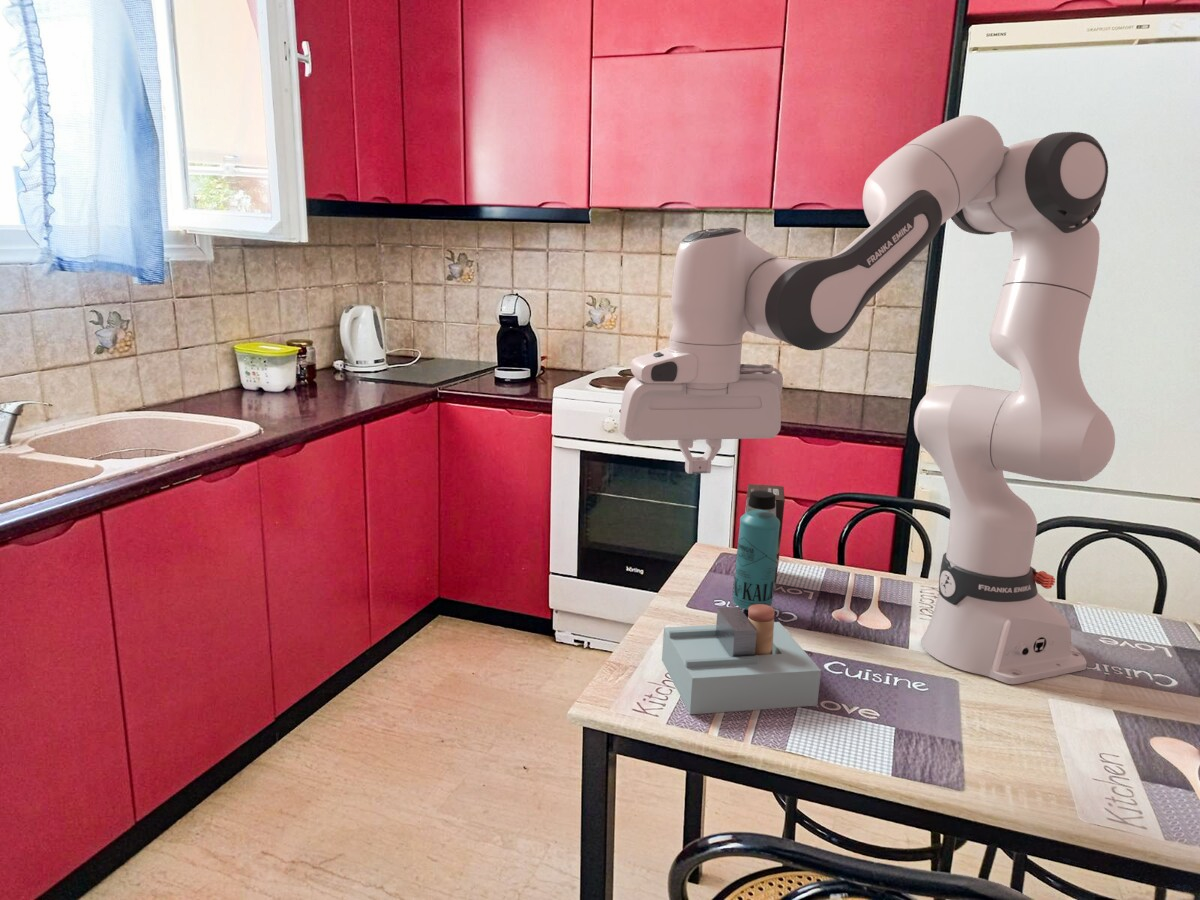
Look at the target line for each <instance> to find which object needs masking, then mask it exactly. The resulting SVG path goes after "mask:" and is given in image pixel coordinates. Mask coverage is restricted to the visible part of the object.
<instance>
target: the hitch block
mask: <svg viewBox="0 0 1200 900" xmlns="http://www.w3.org/2000/svg"><path fill="white" fill-rule="evenodd" d="M661 661H662V664H663V665H664V667H665V669H666V671H667V674H668V675H669V677H670V678H671V681H672V683H673V684H674V687H675V688H676V690H677V692H678V694H679V696H680V698H681V700H682V702H683V703H684V706H685V707H686V709H687V712H688V715H699V714H700V715H701V714H713V713H714V714H715V713H716V714H717V713H730V712H744V711H759V710H771V709H788V708H802V707H804V708H805V707H815V706H818V701H819V692H820V682H821V673H822V670H821V668H820V667H819V666H818V665H817V664H816V663H815V662H814V660H813V659H812V658H811V657H810V656H809V655H808V653H806V651H805V650H804V649H803V648H802V647H801V646H800V645H799V643H798V642H797V641H796V639H795V638H794V637H793V636H792V635H791V634H790V632H788V631H787V629H786V627H784V626H783V624H782V623H780V621H774V631H773V650H772V654H770V655H755V656H745V657H730V655H729V654H728V652H727V651H726V649H725V648H724V646H723V645H722V643H721V642H720V641H719V639H718V638H717V636H716V624H708V625H705V624H704V625H687V626H685V625H684V626H667V627H663V637H662V653H661Z"/></svg>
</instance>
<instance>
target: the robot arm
mask: <svg viewBox="0 0 1200 900" xmlns="http://www.w3.org/2000/svg"><path fill="white" fill-rule="evenodd" d="M1105 153H1106V152H1105V151H1104V149H1103V147H1102V145H1101V144H1100V142H1099V141H1098V140H1097V139H1096V138H1095V137H1094V136H1092V135H1090V134H1089V133H1085V132H1080V131H1062V132H1061V131H1060V132H1055V133H1050V134H1048V135H1046V136H1045V137H1040V138H1034V139H1030V140H1025V141H1021V142H1018V143H1014V144H1011V145H1009V146H1005V145H1004V141H1003V137H1002V135H1001V133H1000V132H999V130H998V129H997V128H996V127H995V126H994V124H993V123H992V122H990V121H989V120H988V119H985V118H983V117H981V116H977V115H971V114H970V115H961V116H956V117H954V118H952V119H949V120H947V121H945V122H943V123H941V124H938V125H937V126H935V127H932V128H931V129H929V130H927V131H925V132H924V133H922V134H920V135H918V136H916V138H914V139H912V140H911V141H909V142H908V143H906V144H904V146H902V147H900V148H899V149H898V150H896V151H895V152H894V153H892V154H891V155H889V156H888V157H887V158H886V159H885V160H883V161H882V162H881V163H880V164H879V165H878V166H877V167H876V168H875V169H874V170H873V172H872V173H870V175H869V176H868V177H867V178H866V179H865V183H864V186H863V191H862V206H863V211H864V215H865V217H866V219H867V222H868V223H869V225H870V226H869V227H867V228H866V229H865V230H864V231H863V232H862V233H861V234H860V235H859V236H857V237H856V238H855V239H854V240H853V241H852V242H850V243H849V244H848V245H846V247H844V249H842V250H841V251H840V252H838V253H837V254H833V256H830V257H828V256H827V257H824V258H818V259H810V260H802V259H801V260H800V259H790V258H789V259H787V258H782V257H781V258H779V257H778V256H777V255H775V254H773V253H771V252H769V251H766V250H765V249H763V248H761V247H760V246H758V245H757V244H756V243H754V242H753V241H752V240H751V239H749V238H748V237H747V236H746V235H745V233H744V231H743V230H742V229H739V228H736V227H720V228H708V229H702V230H697V231H694V232H691V233H689V234H688V235H685V237H684V238H683V239H682V240H681V241H680V243H679V245H678V247H677V251H676V254H675V255H676V256H675V260H674V265H673V274H672V284H671V285H672V286H671V300H670V302H671V303H670V304H671V309H672V312H673V313H672V314H673V315H672V316H673V322H672V328H671V330H670V333H669V342H668V347H664V348H662V349H659V350H655V351H652V352H649V353H646V354H642V355H638V356H637V357H634V358H632V360H631V362H630V371H631V373H632V374H631V375H633V376H634V377H632V378H630V380H629V381H628V382H627V383H626V384H625V387H624V390H623V395H622V399H621V404H620V411H619V412H620V414H619V431H620V432H621V434H622V435H623V436H624V437H625V438H626V439H628V441H630V442H637V441H638V442H639V441H677V446H678V448H679V449H680V452H681V453H682V455H683V457H684V458H685V463H684V469H685V470H684V471H685V473H687V474H688V475H690V474H691V475H693V474H695V475H696V474H711V472H712V461H713V460H714V459H715V457H716V455H718V453H719V452H720V450H721V448H722V440H743V439H744V440H746V439H748V440H750V439H751V440H755V439H756V440H757V439H775V437H776V436H777V435H778V434H779V433H780V431H781V428H782V427H781V426H782V423H781V421H782V419H781V418H782V416H781V415H782V411H781V398H780V396H781V394H782V391H783V385H784V384H783V383H784V382H783V381H784V377H783V373H782V372H781V371H780V370H779V369H778V368H776V367H774V365H772V364H769V363H768V364H767V363H766V364H765V363H763V364H753V363H752V364H751V363H747V364H746V363H741V360H742V347H743V344H742V343H743V336H744V334H745V333H746V332H749V333H752V334H755V335H759V336H762V337H766V338H769V339H772V340H778V341H782V342H784V343H787V344H789V345H791V346H793V347H797V348H798V349H801V350H805V351H806V350H807V351H819V350H820V351H821V350H825V349H826V348H829V347H831V346H833V345H835V344H837V343H838V342H839V341H840V340H842V338H843V337H844V336H845V335H847V333H848V332H849V330H850V329H851V327H852V326H853V325H854V323H855V322H856V320H857V319H858V317H859V316H860V314H861V312H862V311H863V310H864V308H865V307H866V305H867V304H868V303H869V302H870V301H871V299H872V298H873V297H874V296H875V295H876V294H877V293H878V292H879V291H880V290H882V288H884V287H885V286H886V285H887V284H888V283H890V281H891V280H893V279H894V277H895V276H896V275H898V274H899V273H900V272H901V271H902V270H903V269H905V268H906V266H907V265H909V264H910V263H911V262H912V261H913V260H914V259H915V258H916V257H918V255H920V253H921V252H922V251H923V250H924V249H925V248H927V246H929V244H930V243H931V242H932V241H933V240H934V238H935V237H936V235H937V234H938V232H939V231H940V228H941V226H943V224H945V223H946V222H947V221H949V220H950V219H951V220H952V222H953V223H954V225H956V226H957V227H958V228H959V229H960V230H962V231H963V232H967V233H969V234H974V235H981V236H982V235H987V236H988V235H994V234H997V233H1007V232H1010V237H1011V241H1012V257H1011V260H1010V262H1009V264H1008V267H1007V271H1006V274H1005V277H1004V280H1003V284H1002V287H1001V292H1000V294H999V298H998V301H997V306H996V309H995V313H994V316H993V320H992V324H991V328H990V331H989V341H990V345H991V347H992V350H993V351H994V352H995V354H996V355H997V356H998V357H999V358H1001V359H1002V360H1003V361H1004V362H1006V363H1008V364H1009V365H1010V366H1012V367H1013V368H1014V369H1017V370H1018V371H1019V374H1020V386H1019V389H1018V391H1017V390H1015V391H1012V390H1005V389H1001V388H1000V389H998V388H994V387H993V388H992V387H986V386H985V387H984V386H980V385H972V384H953V385H952V384H951V385H938V386H935V387H933V388H932V389H930V390H929V391H928V392H927V393H926V394H925V395H924V396H923V397H922V399H920V401H919V403H918V405H917V407H916V409H915V412H914V416H913V428H914V429H913V430H914V434H915V437H916V438H917V441H918V443H919V444H920V446H921V447H922V448H923V450H925V451H926V452H927V453H928V454H929V455H930V456H931V458H932V459H933V461H934V462H935V463H936V466H937V467H938V468H939V471H940V472H941V475H942V477H943V479H944V482H945V486H946V488H947V492H948V497H949V505H950V506H949V507H950V510H949V511H950V512H949V515H950V516H949V529H948V538H947V546H946V552H945V553H943V555H942V557H941V558H942V559H941V563H940V570H939V577H938V579H939V580H938V595H937V599H936V602H935V607H934V609H933V612H932V615H931V618H930V620H929V624H928V626H927V628H926V630H925V632H924V634H923V636H922V637H921V641H920V642H921V645H922V647H923V649H924V650H925V651H926V653H928V654H929V655H930V656H932V657H933V658H935V659H936V660H938V661H940V662H941V663H943V664H945V665H948V666H950V667H953V668H955V669H958V670H961V671H965V672H969V673H973V674H976V675H981V676H985V677H989V678H991V679H994V680H997V681H999V682H1002V683H1005V684H1009V685H1019V684H1023V683H1027V682H1032V681H1033V682H1034V681H1037V680H1038V681H1039V680H1041V679H1048V678H1051V677H1057V676H1060V675H1061V676H1062V675H1065V674H1071V673H1075V672H1079V671H1084V670H1087V660H1086V657H1084V655H1083V654H1082V653H1081V652H1080V651H1079V649H1077V648H1076V647H1075V646H1073V645H1072V630H1071V625H1070V623H1069V621H1068V619H1067V618H1066V616H1064V614H1062V613H1061V612H1060V611H1059V610H1058V609H1057V608H1055V607H1054V606H1053V605H1052V604H1051V603H1050V602H1049V601H1048V600H1047V599H1045V598H1044V596H1042V595H1041V594H1040V593H1039V592H1038V587H1037V584H1038V585H1040V586H1041V587H1042V588H1043V589H1046V590H1047V589H1052V587H1053V586H1055V583H1056V581H1055V580H1056V578H1055V577H1054V576H1053V575H1051V574H1049V573H1047V572H1046V571H1045V570H1041V571H1036V569H1035V568H1034V567H1032V566H1031V564H1032V560H1033V554H1034V546H1035V541H1036V535H1037V531H1038V530H1037V529H1038V522H1037V518H1036V515H1035V513H1034V511H1033V509H1032V507H1031V506H1030V505H1029V504H1028V503H1027V502H1026V500H1023V498H1021V497H1019V496H1018V495H1017V494H1016V493H1015V492H1014V491H1013V489H1011V488H1010V486H1009V485H1008V482H1007V481H1006V478H1005V476H1004V472H1008V473H1014V474H1017V475H1022V476H1027V477H1031V478H1035V479H1040V480H1046V481H1053V482H1054V481H1057V482H1088V481H1089V480H1092V479H1093V478H1094V477H1096V476H1098V475H1099V474H1100V473H1101V472H1102V471H1103V470H1104V469H1105V468H1106V467H1107V465H1109V463H1110V462H1111V459H1112V457H1113V454H1114V451H1115V447H1116V446H1115V445H1116V434H1115V429H1114V426H1113V424H1112V422H1111V420H1110V418H1109V417H1108V415H1107V414H1106V413H1105V411H1103V410H1102V409H1101V407H1099V406H1098V405H1097V404H1096V403H1095V401H1094V400H1093V398H1092V397H1091V396H1090V394H1089V392H1088V390H1087V388H1086V386H1085V383H1084V381H1083V378H1082V373H1081V369H1080V349H1081V343H1082V336H1083V332H1084V327H1085V323H1086V319H1087V315H1088V311H1089V308H1090V304H1091V300H1092V296H1093V292H1094V287H1095V282H1096V279H1097V273H1098V272H1097V271H1098V265H1099V256H1100V239H1101V238H1100V231H1099V229H1098V227H1097V225H1096V224H1095V223H1094V222H1093V221H1092V220H1093V219H1094V218H1095V216H1096V215H1097V213H1098V211H1099V210H1100V207H1101V204H1102V198H1104V195H1105V191H1106V187H1107V184H1108V183H1107V182H1108V178H1109V177H1108V176H1109V163H1108V158H1107V155H1106V154H1105ZM694 440H695V441H696V440H699V441H701V440H705V444H706V445H708V446H707V448H706V449H705V451H704V453H703V455H702V456H693V455H692V453H691V451H690V449H692V448H693V447H694Z"/></svg>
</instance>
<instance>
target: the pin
mask: <svg viewBox="0 0 1200 900" xmlns="http://www.w3.org/2000/svg"><path fill="white" fill-rule="evenodd" d="M747 611H748V612H747V613H748V614H747V618H748V619H749V620H750V622H751V623H752V624H753V625H754V627H755V628H756V629H757V636H756V647H755V655H770V654H772V650H773V631H774V622H775V609H774V608H773V607H772V605H771V606H768V605H764V604H755V605H751V606H750V607H749V608H748V610H747Z"/></svg>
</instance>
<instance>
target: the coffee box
mask: <svg viewBox="0 0 1200 900" xmlns="http://www.w3.org/2000/svg"><path fill="white" fill-rule="evenodd" d="M752 491H768V492H771V493H773V494H775V508H774V509H770V510H765V511H769V512H771V513H773V514H774V515H775V516H776V517H777V518H778V519H779V521H780V527H779V537H778V547H777V557H776V562H777V563H776V564H777V565H776V570H775V575H776V576H775V580H774V581H775V582H774V585H775V586H774V588H775V589H774V590H776V587H777V578H778V571H779V570H778V569H779V561H780V551H781V541H782V531H783V523H784V522H783V520H784V509H785V501H786V500H785V499H786V498H785V488H784V486H783V485H782V486H781V485H770V484H753V483H748V485H747V491H746V501H745V511H744V514H745V513H746V512H748V511H750V510H761V509H755V508H752V507H750V506H749V505H748V502H749V497H750V493H751V492H752Z"/></svg>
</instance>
